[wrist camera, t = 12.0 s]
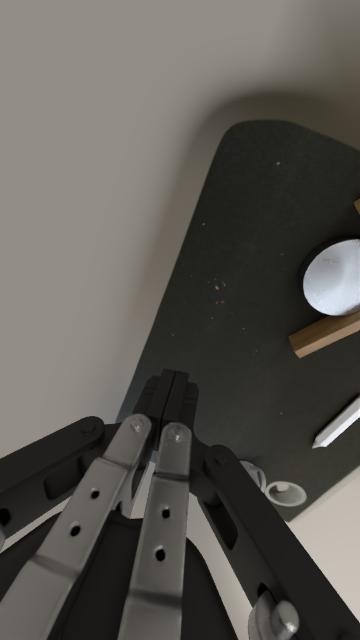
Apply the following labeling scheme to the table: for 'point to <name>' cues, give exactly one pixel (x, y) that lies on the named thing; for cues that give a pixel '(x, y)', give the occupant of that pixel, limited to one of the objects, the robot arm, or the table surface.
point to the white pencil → (338, 424)
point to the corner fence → (325, 328)
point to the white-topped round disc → (332, 277)
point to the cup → (255, 474)
